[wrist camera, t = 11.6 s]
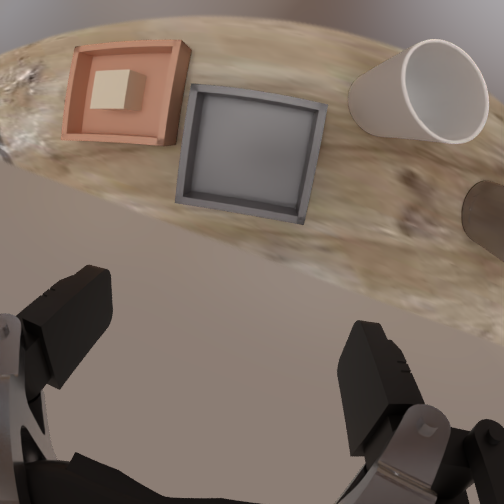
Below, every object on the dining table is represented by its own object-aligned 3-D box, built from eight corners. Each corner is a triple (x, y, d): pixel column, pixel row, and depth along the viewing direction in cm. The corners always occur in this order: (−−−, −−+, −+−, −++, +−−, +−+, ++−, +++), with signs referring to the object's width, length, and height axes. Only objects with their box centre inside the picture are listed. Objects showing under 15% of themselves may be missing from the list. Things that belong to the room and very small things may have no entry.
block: (146, 76, 30) (129, 69, 26) (141, 110, 32) (123, 108, 28) (115, 76, 30) (95, 71, 26) (109, 109, 32) (89, 108, 28)
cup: (333, 99, 31) (379, 75, 17) (378, 59, 29) (443, 21, 14) (379, 150, 33) (449, 166, 18) (421, 110, 31) (503, 106, 16)
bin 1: (191, 49, 30) (181, 39, 26) (175, 144, 34) (163, 146, 30) (93, 53, 30) (75, 46, 26) (80, 137, 34) (61, 140, 30)
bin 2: (320, 108, 32) (327, 104, 28) (299, 214, 37) (303, 224, 33) (200, 89, 32) (191, 83, 28) (185, 194, 37) (174, 203, 32)
